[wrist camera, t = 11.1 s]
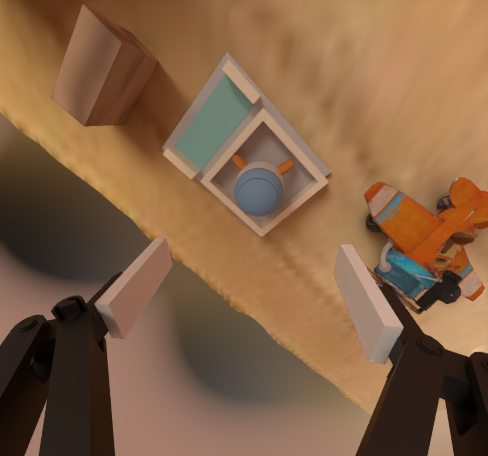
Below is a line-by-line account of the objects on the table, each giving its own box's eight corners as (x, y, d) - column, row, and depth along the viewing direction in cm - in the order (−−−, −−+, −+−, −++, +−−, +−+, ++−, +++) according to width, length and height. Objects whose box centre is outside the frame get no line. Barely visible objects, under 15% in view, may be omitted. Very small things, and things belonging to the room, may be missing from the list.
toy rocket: (294, 145, 35) (320, 187, 23) (280, 199, 42) (295, 253, 30) (233, 138, 34) (229, 178, 23) (229, 195, 41) (224, 248, 29)
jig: (164, 147, 38) (153, 150, 34) (228, 53, 30) (222, 45, 27) (257, 232, 44) (256, 242, 40) (330, 171, 36) (336, 177, 33)
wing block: (99, 102, 36) (50, 97, 28) (131, 33, 31) (82, 3, 23) (124, 124, 37) (84, 126, 29) (158, 61, 32) (122, 43, 24)
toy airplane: (298, 234, 39) (340, 268, 24) (386, 134, 36) (495, 106, 21) (394, 314, 45) (473, 379, 31) (476, 235, 42) (608, 266, 28)
